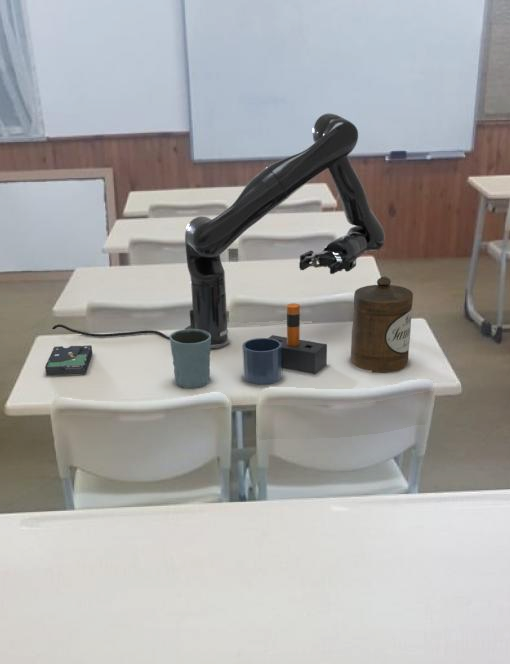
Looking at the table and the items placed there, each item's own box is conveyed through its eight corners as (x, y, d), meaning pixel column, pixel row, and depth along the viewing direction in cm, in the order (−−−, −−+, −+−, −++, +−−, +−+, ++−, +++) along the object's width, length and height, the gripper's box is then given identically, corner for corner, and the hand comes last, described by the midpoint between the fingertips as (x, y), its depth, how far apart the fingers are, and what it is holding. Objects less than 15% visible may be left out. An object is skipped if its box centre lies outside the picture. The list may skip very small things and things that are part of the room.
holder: (260, 365, 220) (259, 343, 217) (272, 356, 225) (272, 334, 222) (314, 375, 213) (315, 353, 210) (326, 366, 219) (327, 344, 215)
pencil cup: (236, 382, 211) (235, 348, 206) (255, 369, 218) (254, 335, 213) (270, 389, 207) (270, 354, 202) (288, 375, 214) (288, 341, 209)
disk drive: (54, 356, 230) (46, 376, 217) (53, 346, 228) (44, 366, 216) (93, 354, 230) (86, 374, 218) (91, 344, 229) (85, 364, 216)
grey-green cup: (179, 372, 217) (176, 327, 211) (217, 375, 216) (215, 329, 209) (168, 388, 209) (164, 341, 203) (207, 390, 207) (205, 344, 201)
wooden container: (402, 375, 212) (408, 288, 200) (344, 369, 216) (347, 283, 204) (412, 354, 224) (419, 271, 212) (357, 349, 228) (361, 267, 216)
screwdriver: (284, 365, 219) (284, 306, 210) (290, 361, 221) (290, 302, 212) (296, 367, 217) (296, 308, 209) (301, 363, 220) (301, 304, 211)
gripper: (318, 235, 230) (291, 250, 218) (367, 240, 224) (341, 256, 212) (318, 263, 234) (291, 279, 222) (365, 269, 228) (341, 286, 216)
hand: (316, 268), depth 217 cm, fingers open, 8 cm apart
